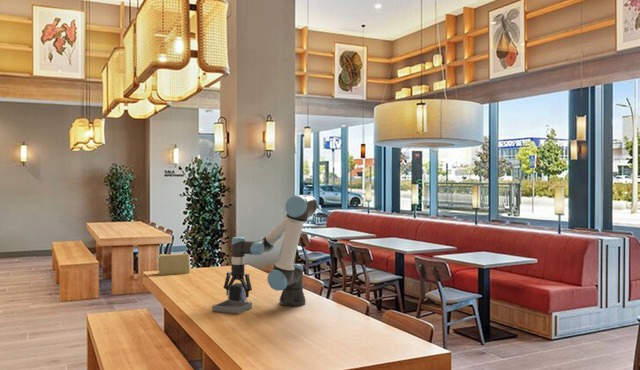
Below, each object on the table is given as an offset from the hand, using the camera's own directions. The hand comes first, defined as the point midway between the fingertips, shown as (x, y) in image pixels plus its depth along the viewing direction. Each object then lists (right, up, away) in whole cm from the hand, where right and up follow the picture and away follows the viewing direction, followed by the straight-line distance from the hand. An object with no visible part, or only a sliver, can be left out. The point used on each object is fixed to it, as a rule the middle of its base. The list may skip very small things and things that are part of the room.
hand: (237, 302), depth 301 cm
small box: (0, -1, 0) cm, 1 cm away
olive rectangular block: (-62, +1, +91) cm, 110 cm away
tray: (0, 0, -17) cm, 17 cm away
